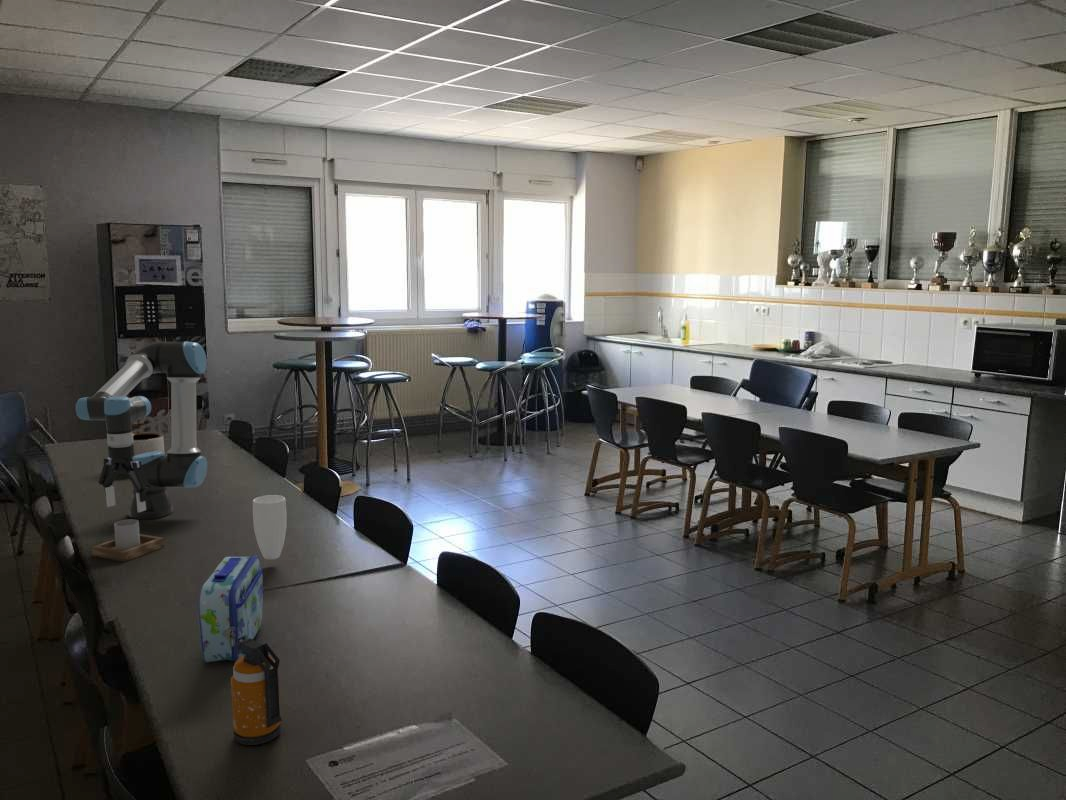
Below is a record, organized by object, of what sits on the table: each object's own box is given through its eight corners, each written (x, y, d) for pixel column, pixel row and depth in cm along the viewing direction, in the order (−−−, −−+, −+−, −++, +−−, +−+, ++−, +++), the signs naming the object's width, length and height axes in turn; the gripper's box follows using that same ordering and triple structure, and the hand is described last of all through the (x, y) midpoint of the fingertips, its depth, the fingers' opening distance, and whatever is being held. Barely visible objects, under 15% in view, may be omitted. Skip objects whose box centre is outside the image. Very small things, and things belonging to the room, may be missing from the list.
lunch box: (244, 669, 198) (239, 584, 194) (196, 671, 197) (191, 585, 193) (269, 622, 223) (265, 546, 220) (227, 624, 222) (222, 547, 219)
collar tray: (133, 541, 288) (132, 532, 287) (164, 546, 282) (163, 537, 282) (92, 555, 273) (91, 546, 273) (124, 562, 268) (123, 552, 267)
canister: (262, 718, 176) (257, 628, 173) (297, 735, 170) (293, 641, 167) (224, 738, 169) (219, 644, 166) (260, 756, 163) (255, 659, 159)
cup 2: (296, 562, 268) (293, 496, 264) (276, 573, 258) (272, 505, 255) (268, 558, 271) (265, 493, 268) (247, 569, 262) (244, 501, 258)
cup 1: (115, 554, 272) (113, 527, 271) (116, 544, 281) (114, 518, 280) (140, 550, 275) (138, 524, 274) (140, 541, 284) (138, 516, 283)
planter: (155, 475, 377) (152, 440, 374) (115, 474, 377) (112, 440, 375) (172, 465, 394) (170, 432, 392) (134, 465, 395) (132, 432, 392)
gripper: (82, 443, 273) (89, 507, 277) (140, 451, 264) (145, 516, 268) (102, 438, 280) (108, 500, 284) (159, 446, 271) (164, 509, 274)
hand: (126, 508), depth 276 cm, fingers open, 13 cm apart
